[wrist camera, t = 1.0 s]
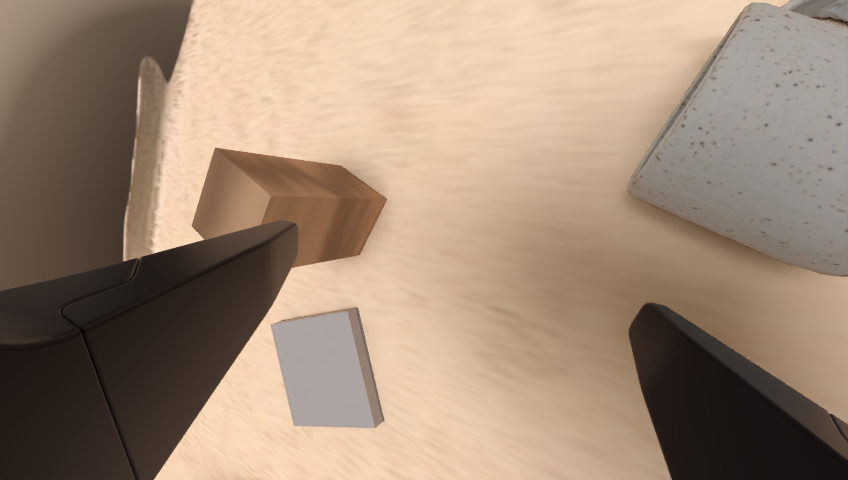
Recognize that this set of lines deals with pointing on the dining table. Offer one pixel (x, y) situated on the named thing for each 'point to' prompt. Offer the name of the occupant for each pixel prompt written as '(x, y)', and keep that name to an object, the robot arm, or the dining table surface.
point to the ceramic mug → (764, 138)
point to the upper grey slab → (327, 371)
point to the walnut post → (288, 202)
